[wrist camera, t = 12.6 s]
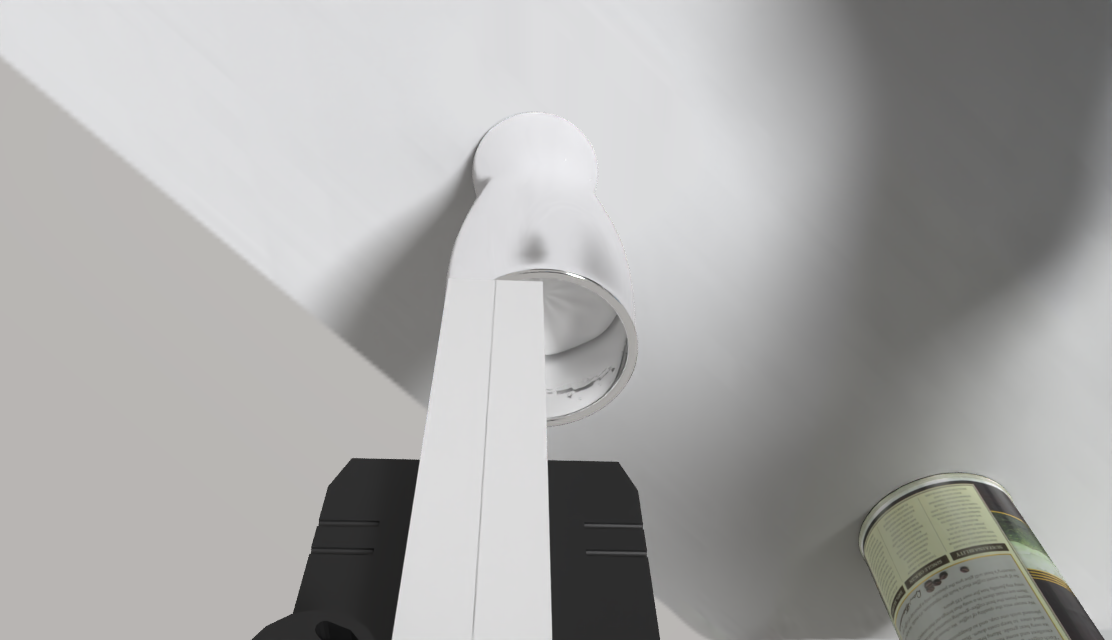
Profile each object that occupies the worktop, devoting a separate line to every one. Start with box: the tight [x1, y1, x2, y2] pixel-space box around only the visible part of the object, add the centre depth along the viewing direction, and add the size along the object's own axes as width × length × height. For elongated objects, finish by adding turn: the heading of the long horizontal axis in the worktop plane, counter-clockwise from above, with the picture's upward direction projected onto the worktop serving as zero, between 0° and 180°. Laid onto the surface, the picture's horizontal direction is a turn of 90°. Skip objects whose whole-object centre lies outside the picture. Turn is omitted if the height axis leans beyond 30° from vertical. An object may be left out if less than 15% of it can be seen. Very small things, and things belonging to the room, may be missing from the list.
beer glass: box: [445, 112, 638, 427], centre depth 34 cm, size 7×7×15 cm
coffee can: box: [859, 473, 1104, 640], centre depth 50 cm, size 10×10×14 cm
